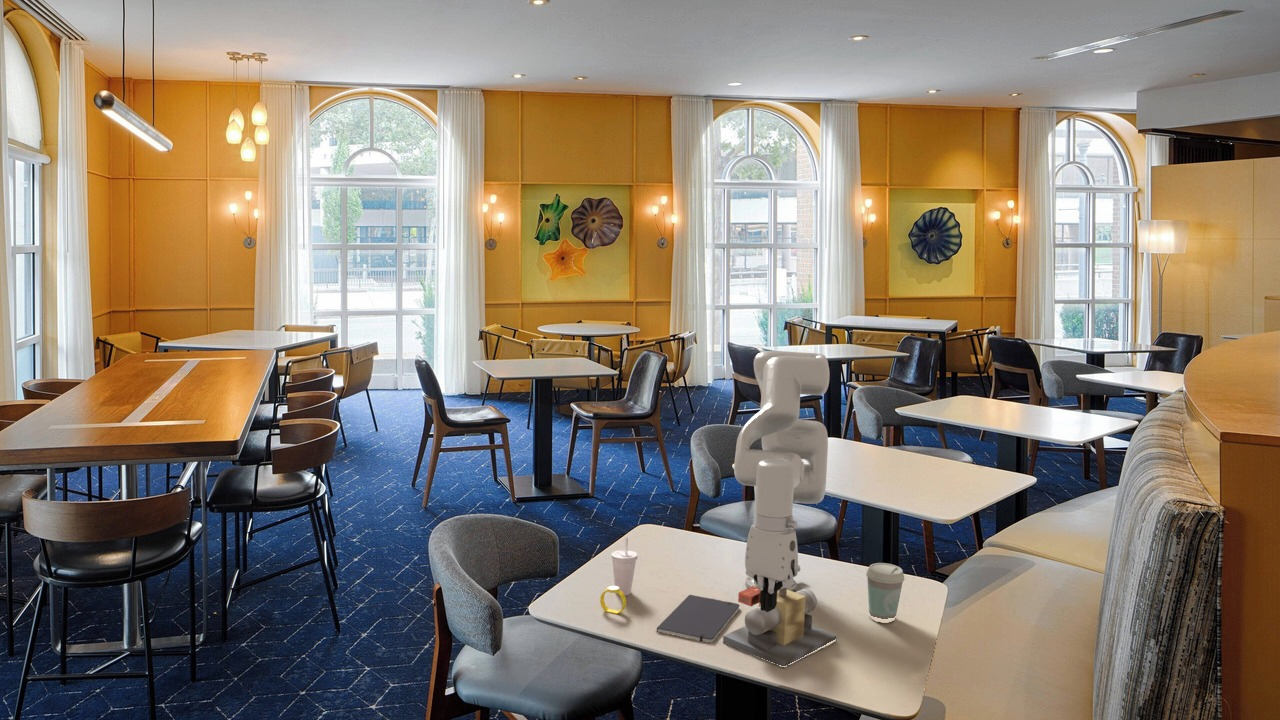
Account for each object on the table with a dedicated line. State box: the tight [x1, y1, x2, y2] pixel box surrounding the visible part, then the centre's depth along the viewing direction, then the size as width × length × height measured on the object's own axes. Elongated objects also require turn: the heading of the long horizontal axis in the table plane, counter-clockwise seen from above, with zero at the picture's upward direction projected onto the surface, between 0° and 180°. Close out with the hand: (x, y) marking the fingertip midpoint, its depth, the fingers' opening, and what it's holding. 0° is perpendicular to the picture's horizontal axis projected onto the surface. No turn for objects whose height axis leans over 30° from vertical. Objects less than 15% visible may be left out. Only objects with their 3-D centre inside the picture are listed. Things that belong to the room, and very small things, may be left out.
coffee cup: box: [865, 562, 906, 619], centre depth 215 cm, size 9×8×12 cm
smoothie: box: [610, 536, 638, 596], centre depth 225 cm, size 6×6×14 cm
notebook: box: [656, 594, 740, 643], centre depth 211 cm, size 13×2×21 cm
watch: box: [599, 585, 627, 615], centre depth 213 cm, size 6×3×6 cm, turn 68°
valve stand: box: [722, 588, 837, 666], centre depth 200 cm, size 19×16×12 cm
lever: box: [737, 586, 783, 607], centre depth 195 cm, size 16×3×2 cm, turn 138°
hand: (767, 609), depth 189 cm, fingers closed
